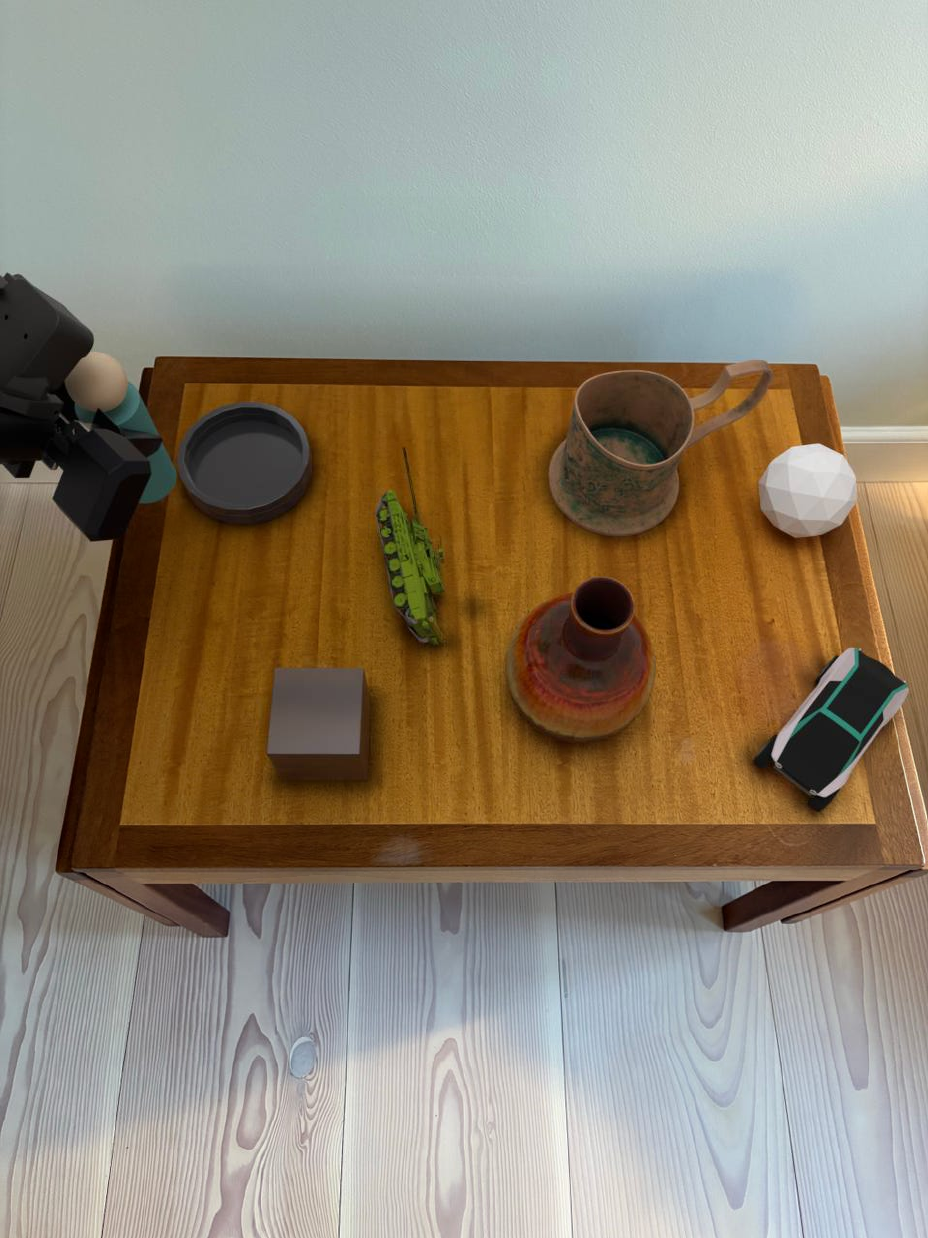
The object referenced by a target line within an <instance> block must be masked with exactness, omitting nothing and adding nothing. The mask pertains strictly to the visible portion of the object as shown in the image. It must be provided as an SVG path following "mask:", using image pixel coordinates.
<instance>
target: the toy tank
mask: <svg viewBox="0 0 928 1238" xmlns="http://www.w3.org/2000/svg"><path fill="white" fill-rule="evenodd" d="M401 447H402V453H403V458H404V463H405V469H406V473H407V478H408V484H409V490H410V494H411V495H410V496H411V499H412V505H413V507H412V509H413V511H414V517H413V516H411V517H410V522H409V519H408V517H409V515H408V513H406V512H405V511H404V509H403V507H402V506H401V503H400V501H399V499H398V496H397V495H396V493H395V491H394V490H393V489H392V488H391V489H389V490H388V491H386V492H384V493H383V494H382V495H381V496H380V499H379V502H378V504H377V506H376V510H375V518H376V522H377V528H378V532H379V537H380V538H379V539H380V542H381V547H382V551H383V552H382V553H383V558H384V561H385V567H386V573H387V577H388V583H389V587H390V592H391V598H392V605H393V607H394V609H395V610H396V611H397V612H398V613H399V614H400V616H402V617H403V618H404V623H405V625H406V627H407V629H408V630H409V631H410V632H411V633H412V634H413V635H414V636H415V638H416V640H418V641H419V643H429V644H430V645H432V644H433V646H436V645H437V646H439V644H440V643H441V644H443V643H445V641H446V640H447V639H446V637H445V636H444V633H442V631H441V629H440V627H439V625H438V622H437V618H436V613H435V611H437V608H436V604H435V600H434V597H433V595H434V596H436V595H442V594H444V593H445V587H444V583H443V580H442V576H443V575H444V574H447V573H449V572H450V573H451V572H453V571H454V569H451V570H450V571H445V572H443V573H442V572H441V565H440V563H442V564H444V563H445V557H444V556H445V552H443V549H442V544H440V543H442V538H441V535H439V543H437V548H438V549H437V552H436V554H435V550H434V546H433V544H434V541H433V540H431V538H430V535H429V534H428V527H427V526H426V525H424V524H422V523H421V521H420V516H419V511H418V506H417V502H416V495H415V491H414V487H413V481H412V476H411V471H410V466H409V465H410V464H409V460H408V455H407V451H406V450H407V449H406V446H405V445H403V446H401ZM368 515H370V513H369V514H368ZM380 525H381V526H380ZM439 559H440V563H439V561H438V560H439ZM457 573H458V572H457ZM459 574H460V573H458V575H459ZM390 576H392V577H390ZM394 593H395V594H394ZM413 629H414V630H415V631H416V632H414V631H413Z"/></svg>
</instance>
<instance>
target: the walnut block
mask: <svg viewBox="0 0 928 1238" xmlns="http://www.w3.org/2000/svg"><path fill="white" fill-rule="evenodd" d="M271 689H272V690H271V698H270V699H271V700H270V710H269V721H268V722H269V723H268V733H267V741H266V756H267V757H268V759H269V760H270V763H271V764H272V765H273V767H274V769H275V771H276V772H277V774H278V775H279V776H280V778H281V780H282V781H290V782H291V781H298V782H301V781H309V782H310V781H311V782H312V781H313V782H315V781H317V782H318V781H319V782H321V781H322V782H323V781H325V782H327V781H328V782H329V781H330V782H333V781H334V782H340V781H341V782H367V781H368V780H369V779H368V778H369V754H370V736H371V735H370V732H371V731H370V730H371V712H372V711H371V710H372V700H371V696H370V690H369V686H368V681H367V675H366V672H365V668H363V667H274V668H273V680H272V688H271Z"/></svg>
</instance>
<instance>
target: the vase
mask: <svg viewBox="0 0 928 1238" xmlns="http://www.w3.org/2000/svg"><path fill="white" fill-rule="evenodd" d="M635 612H636V603H635V599H634V596H633V594H632V592H631V591H630V589H629V587H627V586H626V585H625V584H624V583H622V582H621V581H619V580H618V579H615V578H613V577H610V576H605V575H604V576H603V575H601V576H600V575H598V576H597V575H596V576H591V577H588V578H586V579H585V580H583V581H582V582H581V583H579V584H578V585H577V586H576V588H575V589H574V590H573V592H567V593H562V594H558V595H556V596H553V597H549V598H548V599H546V600H545V601H542V602H540V603H539V604H538V605H536V606H535V607H534V608H533V609H531V610H529V612H528V613H527V614H526V615H525V616H524V617H523V618H522V619H521V621H520V622H519V624H518V625H517V627H516V628H515V629H514V631H513V634H512V636H511V638H510V641H509V644H508V647H507V651H506V657H505V679H506V684H507V688H508V693H509V694H510V697H511V699H512V702H513V704H514V705H515V708H517V710H518V712H519V714H520V715H521V716H522V717H523V719H525V720H526V721H527V723H528V724H530V725H531V726H532V727H533V728H534V729H536V730H537V731H538V732H540V733H542V734H543V735H545V736H547V737H549V738H551V739H554V740H557V741H560V742H564V743H569V744H570V743H572V744H590V743H594V742H599V741H603V740H605V739H608V738H610V737H613V736H614V735H616V734H617V733H620V732H621V731H623V730H625V728H626V727H628V726H629V725H630V724H632V722H634V721H635V719H636V718H637V717H638V716H639V715H640V713H642V711H643V709H644V708H645V706H646V704H647V703H648V701H649V699H650V697H651V695H652V691H653V688H654V684H655V680H656V667H657V666H656V655H655V649H654V646H653V643H652V640H651V638H650V636H649V633H648V631H647V629H646V628H645V626H644V624H643V623H641V621H640V618H638V617H637V616H636V615H635Z"/></svg>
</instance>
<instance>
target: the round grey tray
mask: <svg viewBox="0 0 928 1238" xmlns="http://www.w3.org/2000/svg"><path fill="white" fill-rule="evenodd" d="M176 465H177V469H178V473H179V477H180V480H181V482H182V484H183V487H184V489H185V490H186V491H185V492H186V493H187V494H188V495H189V498H190V499H191V501H192V502H193V503H194V505H195V506H196V507H197V508H198V509H199V510H200V511H202V512H203V513H204V514H206V516H209V517H211V518H212V519H215V520H217V521H220V522H221V523H222V522H223V523H226V524H231V525H241V526H247V525H255V524H261V523H264V522H268V521H271V520H274V519H276V518H278V517H280V516H282V515H284V514H286V513H287V512H288V511H290V510H291V509H292V508H293V507H294V506H296V505H297V504H298V503H299V501H300V500H301V499H302V498H303V496H304V495H305V493H306V492H307V490H308V488H309V486H310V484H311V481H312V477H313V471H314V470H313V454H312V451H311V447H310V443H309V440H308V436H307V434H306V431H305V429H304V428H303V426H302V425H301V423H300V422H299V421H298V420H297V419H296V417H294V416H293V415H291V414H290V413H288V412H287V411H285V410H283V409H282V408H280V407H278V406H275V405H272V404H269V403H264V402H260V401H239V402H235V403H230V404H226V405H221V406H219V407H217V408H214V409H213V410H211V411H209V412H207V413H205V414H204V415H202V416H201V417H200V418H199V419H198V420H197V421H195V422H194V423H193V424H192V425H191V426H190V427H189V428H188V430H187V432H186V433H185V435H184V437H183V439H182V440H181V442H180V443H179V448H178V454H177V459H176Z"/></svg>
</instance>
